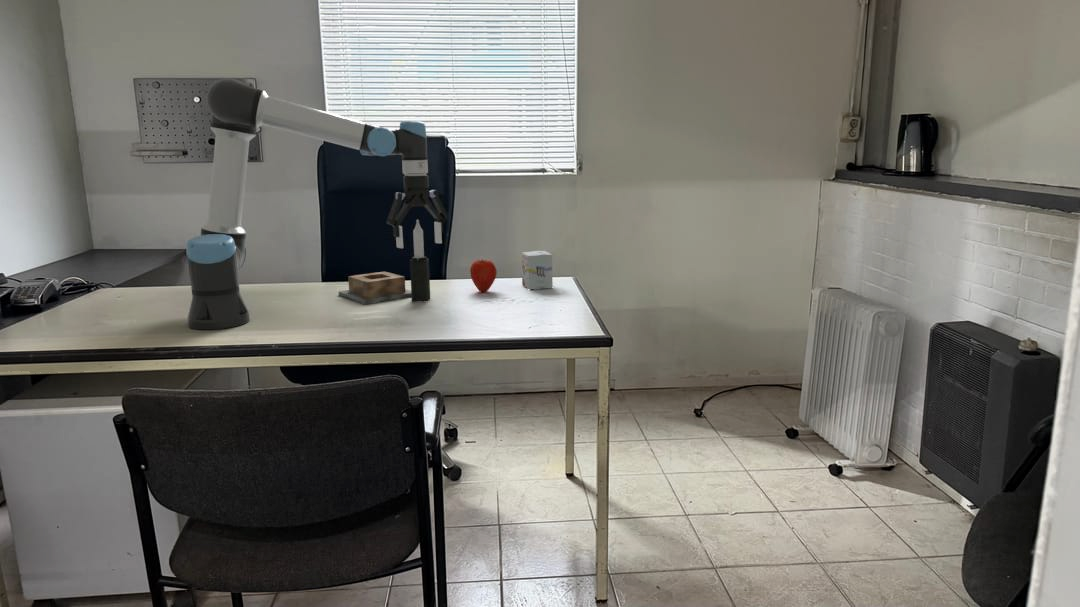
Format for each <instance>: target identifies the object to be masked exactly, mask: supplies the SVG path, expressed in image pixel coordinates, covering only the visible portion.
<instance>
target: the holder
mask: <svg viewBox="0 0 1080 607" xmlns="http://www.w3.org/2000/svg"><path fill="white" fill-rule="evenodd" d="M347 277H348V278H347V279H348V280H347V281H348V289H347V290H346V289H345V290H340V291H338V296H339V297H342V296H343V298H345V297H346V299H348V298H349V299H348V300H350V301H354V302H356V303H359V302H360V304H362V303H363V305H370V303H371V304H377V303H382V302H381V301H383V302H388V301H387V300H389V301H394V300H393V299H395V300H399V299H398V298H401V299H405V298H404V297H407V298H411V297H410V296H412V295H411V290H410V289H407V288H406V277H405V276H404V275H400V274H396V273H392V272H388V271H380V272H369V273H363V274H354V275H349V276H347ZM376 302H377V303H376Z"/></svg>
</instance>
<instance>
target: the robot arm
mask: <svg viewBox="0 0 1080 607" xmlns="http://www.w3.org/2000/svg"><path fill="white" fill-rule="evenodd" d="M206 106H207V108H208V110H209V111H210V113H211V115H210V125H209V127H210V130H211V131H212V132H213V133H214V136H215V138H214V139H215V140H214V151H213V161H212V173H211V183H210V193H209V194H210V195H209V206H208V207H209V208H208V218H207V222H206V223H204V224H203V225H201V227H200V235H199V236H194V237H192V238H190V239H189V240H187V242H186V249H185V250H186V251H185V253H186V257H187V265H188V270H189V272H188V274H189V279H190V289H191V295H192V296H191V297H192V298H191V302H190V306H189V310H188V315H187V324H188V327H189V328H190V329H193V330H194V329H195V330H206V331H207V330H210V331H211V330H221V329H228V328H229V329H230V328H233V327H234V328H235V327H237V326H238V327H239V326H241V325H245V324H246V323H248V322H250V321H251V320H250V312H249V310H248V309H249V308H247V305H246V304H245V300H244V299H243V297H242V294H241V291H240V284H239V283H240V281H239V271H240V269H241V268H242V267H243V266H244V263H245V262H246V258H247V249H246V246H245V245H246V238H247V231H246V230H245V229H244V227H243V226H242V220H243V211H244V210H243V208H244V200H245V191H246V190H245V189H246V179H247V169H248V160H249V149H250V141H251V140H253V139H254V138H255V137H256V136H257V128H258V129H259V128H260V127H261V126H265V127H268V128H269V127H270V128H272V129H277V130H280V131H285V132H289V133H293V134H296V135H300V136H304V137H307V138H312V139H315V140H318V141H324V142H327V143H332V144H335V145H339V146H343V147H346V148H350V149H354V150H357V151H359V152H360V154H361V155H362V156H371V157H373V156H379V157H387V156H395V155H396V156H397V155H398V156H399V155H401V163H402V164H401V165H402V174H403V177H402V182H403V189H404V191H403V192H399V191H398V192H396V191H395V192H394V200H393V202H392V206H391V208H390V211H389V214H388V215H387V218H386V224H387V225H390V226H391V227H392V231H393V235H392V236H393V237H394V238H395V241H396V248H398V249H404V237H403V236H404V235H403V226H402V225H401V224H402V222H403V220H404V219H405V217H406V215H407V214H408V212H409V211H410V210H411V209H412V208H414V207H415V208H416V207H424V208H425V209H426V210H427V211H428V213H430V215H431V216H432V217H433V219H434V220H435V221H434V222H433V224H434V225H433V226H434V228H433V229H434V243H435V244H443V239H442V236H443V235H442V233H443V232H444V223H445V221H446V220H448V219H449V215H448V213H447V211H446V209H445V207H444V204H443V202H442V201H441V199H440V197H439V196H440V195H439V191H438V189H431V190H429V187H430V183H429V182H430V180H429V175H427V174H428V173H429V166H428V140H427V138H428V137H427V130H426V124H425V123H424V122H423V121H415V120H414V121H400V122H399V128H397V127H396V128H388V127H386V126H385V127H384V126H378V125H375V124H370V123H367V122H364V121H360V120H356V119H354V118H349V117H345V116H342V115H339V114H334V113H331V112H328V111H324V110H320V109H316V108H313V107H310V106H306V105H302V104H300V103H295V102H291V101H287V100H284V99H281V98H276V97H274V96H273V97H272V96H269V95H268V93H267V92H266V91H265V90H262V89H259V88H256V87H253V86H250V85H249V84H248V85H247V84H246V83H244V82H242V81H240V80H238V79H235V78H221V79H219V80H217V81H214V82H213V83H212V85H210V87H209V88H208V90H207V93H206ZM429 197H430V198H431V200H432V202H431V201H430V200H429ZM404 199H405V200H404ZM403 200H404V202H403ZM402 203H403V204H402ZM432 203H433V205H432ZM401 206H402V207H401Z"/></svg>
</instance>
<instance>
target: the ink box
mask: <svg viewBox="0 0 1080 607" xmlns="http://www.w3.org/2000/svg"><path fill="white" fill-rule="evenodd" d="M521 264H522V265H521V272H522V273H521V277H522V279H521V280H522V282H521V283H522V284H521V286H522V285H524V286H525V287H527V288H528V289H535V290H541V289H540V288H548V289H553V288H554V286H553V254H552V253H550V252H548V251H547V250H534V251H523V252H521ZM524 286H523V287H524ZM525 287H524V288H525ZM552 287H553V288H552ZM527 288H526V289H527ZM528 289H527V290H528Z"/></svg>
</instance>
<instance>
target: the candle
mask: <svg viewBox="0 0 1080 607" xmlns="http://www.w3.org/2000/svg"><path fill="white" fill-rule="evenodd" d="M415 222H416V223H415V227H414V229H413V231H412V233H413V234H412V236H413V256H412V257H411V259H409V271H410V289H411V290H410V291H411V295H412V297H411V301H412V302H413V301H423V303H425V302H424V301H427V302H429V301H430V300H431V287H430V284H431V283H430V259H429V258H428V256H425V250H424V248H425V247H424V246H425V245H424V229H422V227H421V224H420V220H419V219H416V221H415ZM429 299H430V300H429ZM428 300H429V301H428Z"/></svg>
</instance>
